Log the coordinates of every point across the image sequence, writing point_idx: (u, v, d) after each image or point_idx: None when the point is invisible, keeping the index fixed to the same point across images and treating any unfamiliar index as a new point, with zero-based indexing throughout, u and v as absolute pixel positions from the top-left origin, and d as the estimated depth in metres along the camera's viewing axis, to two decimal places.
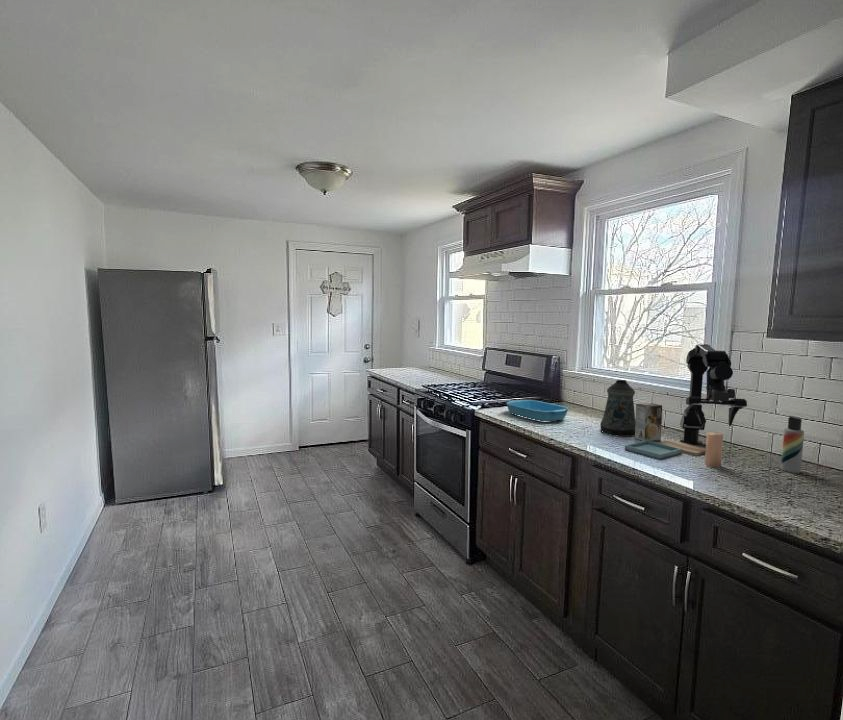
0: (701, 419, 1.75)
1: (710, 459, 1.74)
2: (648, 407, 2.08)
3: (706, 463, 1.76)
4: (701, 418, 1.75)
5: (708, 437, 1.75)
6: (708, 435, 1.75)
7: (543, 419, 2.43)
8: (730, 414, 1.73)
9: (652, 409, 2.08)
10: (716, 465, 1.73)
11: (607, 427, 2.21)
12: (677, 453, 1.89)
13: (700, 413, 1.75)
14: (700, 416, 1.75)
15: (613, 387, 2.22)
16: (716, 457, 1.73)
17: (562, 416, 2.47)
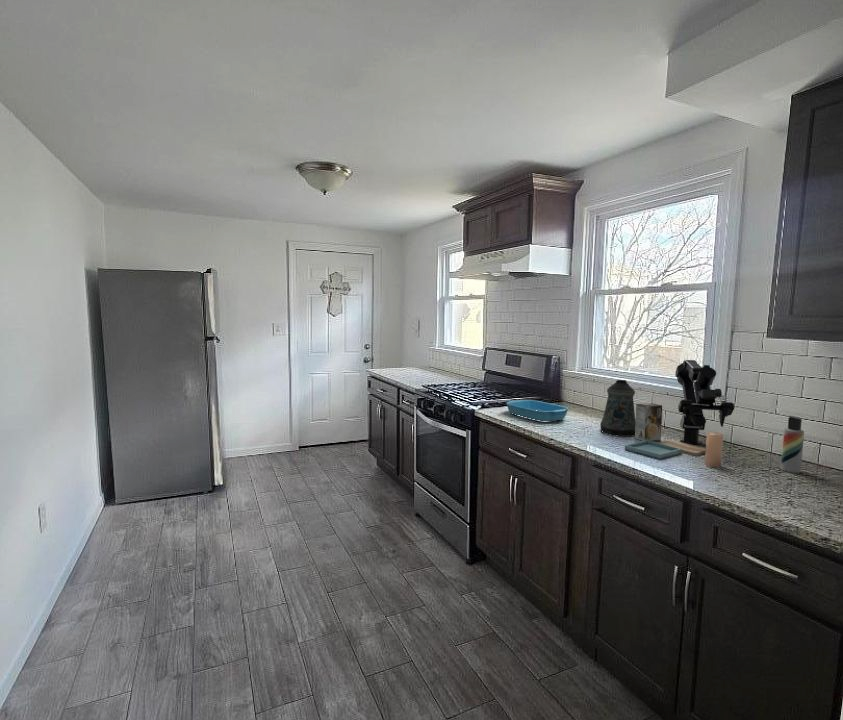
0: (694, 419, 1.85)
1: (710, 459, 1.74)
2: (648, 407, 2.08)
3: (706, 463, 1.76)
4: (694, 418, 1.85)
5: (708, 437, 1.75)
6: (708, 435, 1.75)
7: (543, 419, 2.43)
8: (721, 417, 1.84)
9: (652, 409, 2.08)
10: (716, 465, 1.73)
11: (607, 427, 2.21)
12: (677, 453, 1.89)
13: (692, 414, 1.86)
14: (693, 417, 1.85)
15: (613, 387, 2.22)
16: (716, 457, 1.73)
17: (562, 416, 2.47)
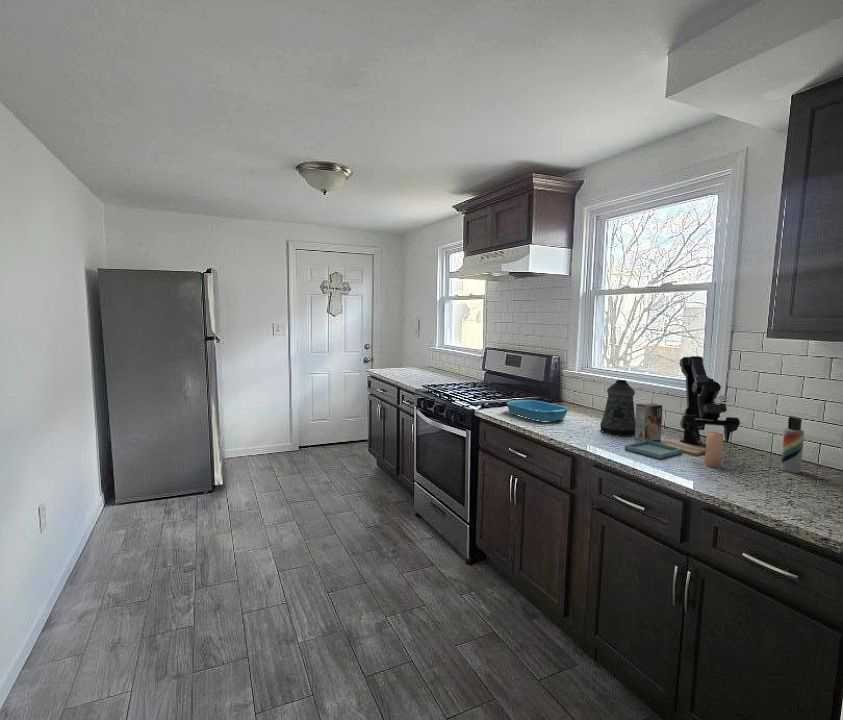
0: (698, 435, 1.78)
1: (710, 459, 1.74)
2: (648, 407, 2.08)
3: (706, 463, 1.76)
4: (698, 434, 1.79)
5: (708, 437, 1.75)
6: (708, 435, 1.75)
7: (542, 419, 2.43)
8: (726, 432, 1.78)
9: (652, 409, 2.08)
10: (716, 465, 1.73)
11: (607, 427, 2.21)
12: (677, 453, 1.89)
13: (696, 429, 1.79)
14: (697, 432, 1.79)
15: (613, 387, 2.22)
16: (716, 457, 1.73)
17: (561, 416, 2.47)
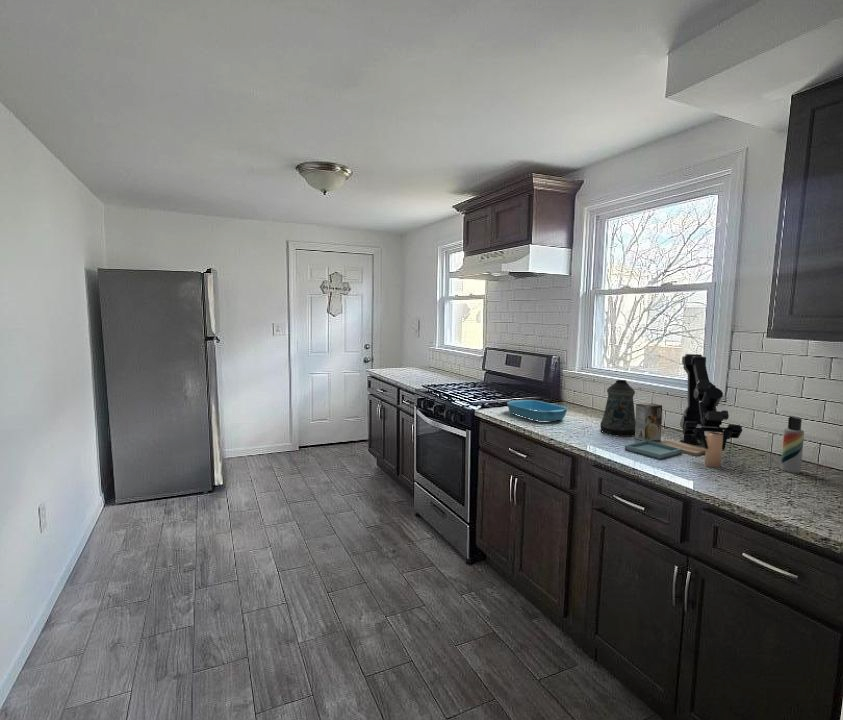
0: (705, 443, 1.75)
1: (710, 459, 1.74)
2: (648, 407, 2.08)
3: (706, 463, 1.76)
4: (705, 442, 1.76)
5: (708, 437, 1.75)
6: (708, 435, 1.75)
7: (540, 419, 2.43)
8: None
9: (652, 409, 2.08)
10: (716, 465, 1.73)
11: (607, 427, 2.21)
12: (677, 453, 1.89)
13: (703, 437, 1.76)
14: (704, 440, 1.76)
15: (613, 387, 2.22)
16: (717, 457, 1.73)
17: (560, 416, 2.46)
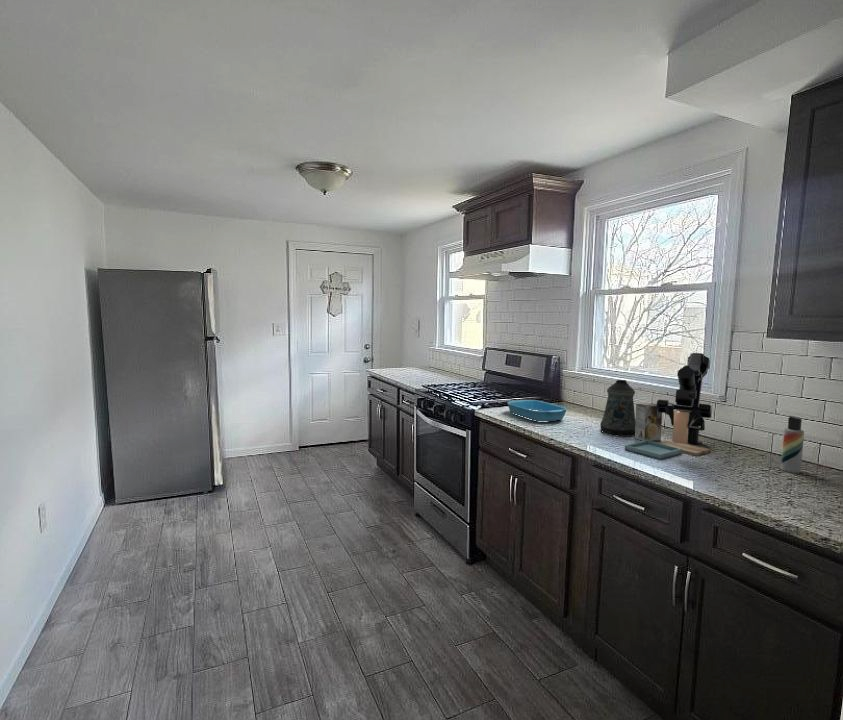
0: (671, 420, 1.83)
1: (675, 435, 1.82)
2: (648, 407, 2.08)
3: (672, 439, 1.83)
4: (672, 419, 1.83)
5: (674, 414, 1.82)
6: (674, 412, 1.82)
7: (538, 419, 2.43)
8: None
9: (652, 409, 2.08)
10: (680, 441, 1.80)
11: (607, 427, 2.21)
12: (677, 453, 1.89)
13: (671, 414, 1.84)
14: (671, 417, 1.84)
15: (613, 387, 2.22)
16: (680, 434, 1.80)
17: (559, 417, 2.46)
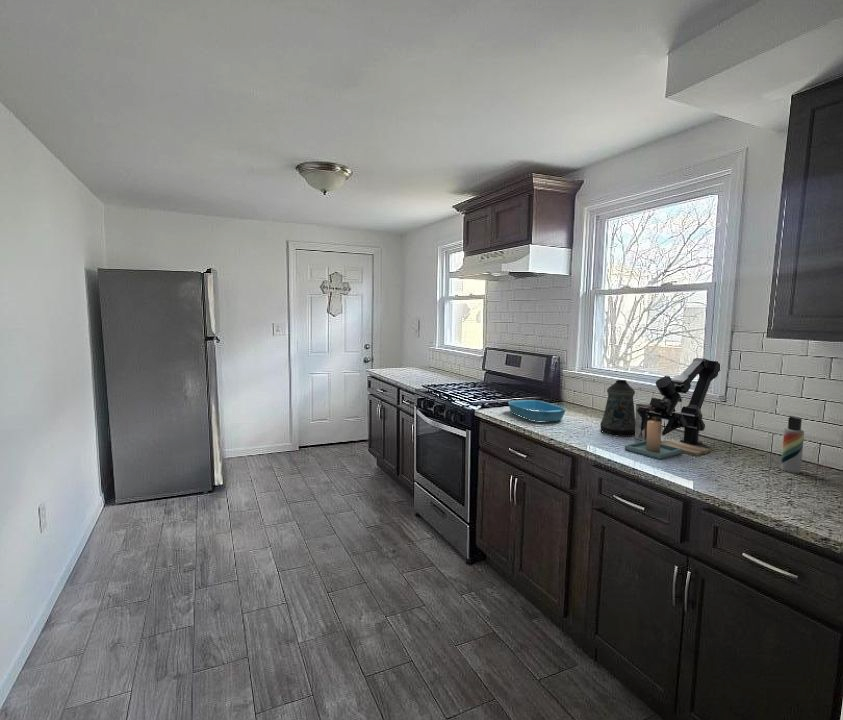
0: (641, 425, 1.96)
1: (646, 443, 1.93)
2: (648, 407, 2.08)
3: (646, 447, 1.94)
4: (642, 424, 1.96)
5: (647, 424, 1.93)
6: None
7: (536, 419, 2.43)
8: None
9: (652, 409, 2.08)
10: (650, 449, 1.91)
11: (607, 427, 2.21)
12: (677, 453, 1.89)
13: (642, 420, 1.97)
14: (642, 423, 1.96)
15: (613, 387, 2.22)
16: (650, 442, 1.91)
17: (558, 417, 2.45)
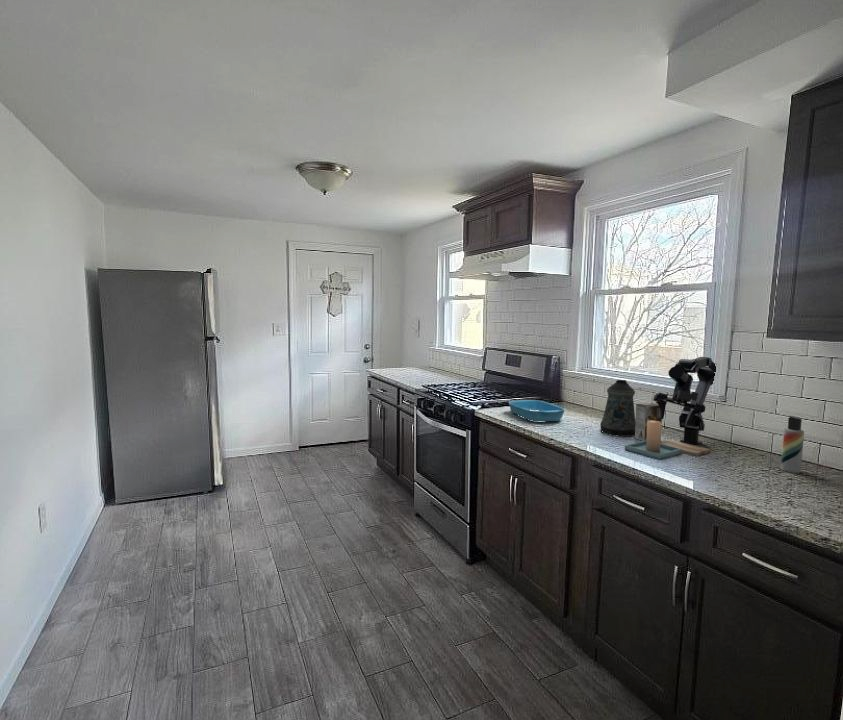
0: (663, 414, 1.96)
1: (646, 443, 1.93)
2: (648, 407, 2.08)
3: (646, 447, 1.94)
4: (663, 413, 1.96)
5: (647, 424, 1.93)
6: None
7: (534, 419, 2.43)
8: (688, 416, 1.94)
9: (652, 409, 2.08)
10: (650, 449, 1.91)
11: (607, 427, 2.21)
12: (677, 453, 1.89)
13: (663, 409, 1.96)
14: (663, 411, 1.96)
15: (613, 387, 2.22)
16: (650, 442, 1.91)
17: (556, 417, 2.44)
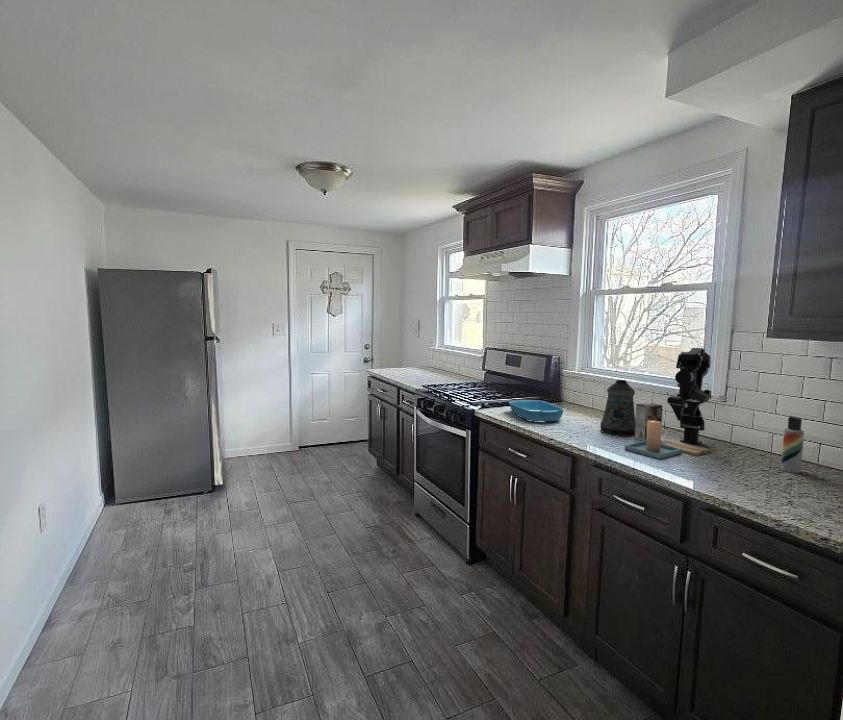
0: (681, 417, 1.92)
1: (646, 443, 1.93)
2: (648, 407, 2.08)
3: (646, 447, 1.94)
4: (681, 416, 1.91)
5: (647, 424, 1.93)
6: None
7: (532, 419, 2.43)
8: (692, 408, 1.97)
9: (652, 409, 2.08)
10: (650, 449, 1.91)
11: (607, 427, 2.21)
12: (677, 453, 1.89)
13: (682, 412, 1.91)
14: (681, 414, 1.91)
15: (613, 387, 2.22)
16: (650, 442, 1.91)
17: (555, 417, 2.44)
